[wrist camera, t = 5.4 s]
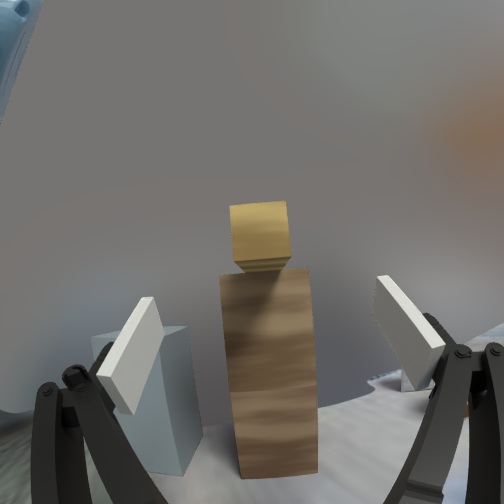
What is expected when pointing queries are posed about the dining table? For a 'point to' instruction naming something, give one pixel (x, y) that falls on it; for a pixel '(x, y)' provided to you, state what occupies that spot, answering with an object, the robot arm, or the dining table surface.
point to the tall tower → (271, 371)
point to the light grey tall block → (164, 406)
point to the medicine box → (408, 386)
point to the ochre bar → (260, 236)
